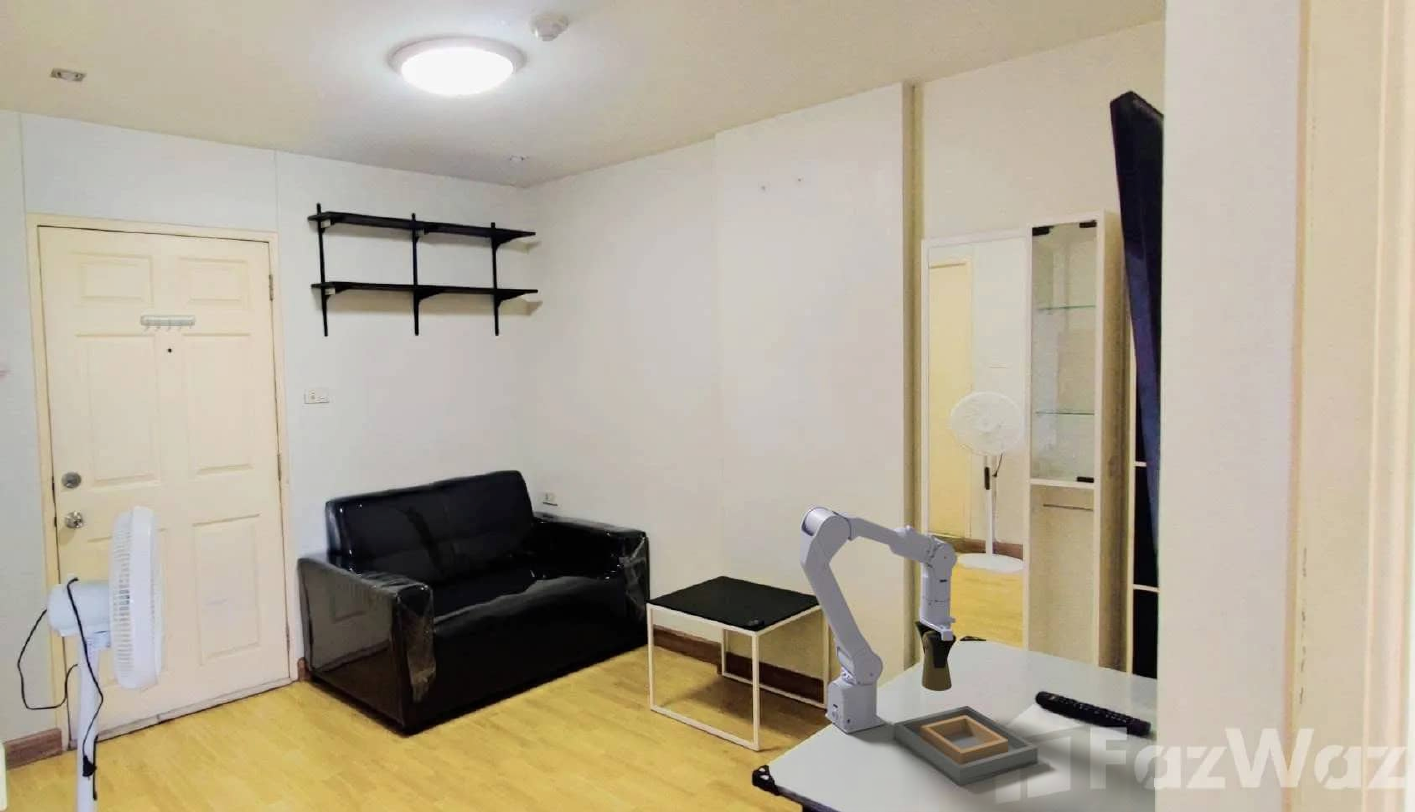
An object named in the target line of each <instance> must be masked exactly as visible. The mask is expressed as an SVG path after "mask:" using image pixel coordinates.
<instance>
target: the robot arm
mask: <svg viewBox="0 0 1415 812" xmlns="http://www.w3.org/2000/svg"><path fill="white" fill-rule="evenodd" d="M799 530H800V535H801V536H800V549H799V550H800V552H799V563H800V565H801V568H802V569H803V572H804V575H805V576H806V579H807V581H808V583H809V585H810V586H811V587H810V588H811V589H812V592H813V593H814V595H815V597H816V600H817V602H818V604H819V606H820V608H821V611H822V612H823V615H824V617H825V620H826V621H827V623H828V625H829V628H830V630H831V631H832V633H833V636H834V638H833V644H834V646H835V657H836V660H837V662H838V663H839V664H841V667H840V675H839V677H838V678H836V679H835V680H832V681H830V682H829V684H828V686H827V693H826V694H827V698H826V699H827V702H826V704H827V705H826V706H827V710H826V713H825V715H824V717H825V718H827V719H828V720H829V721H830V722H832V723H833V724H834V723H835V724H834V725H835V726H837V728H839V729H840V730H842V731H843V732H844V733H846V734H849V733H854V732H858V731H862V730H863V731H864V730H866V729H870V728H874V727H875V728H876V727H879V726H883V725H886V720H885V719H883V718H882V717H880V716H878V715H877V706H878V705H877V702H878V701H877V700H878V697H877V695H878V679H880V677H881V676H882V673H883V670H884V663H883V660H882V659H881V657H880V656H879V655H878V654H877V653H875V652H874V651H873V650H872V648H871V645H870V644H869V643H868V641H867V640H866V638H865V637H864V636H863V634H862V633H861V631H860V629H859V627H858V624H857V622H856V620H855V618H854V616H853V614H852V612H851V609H850V607H849V605H848V603H847V601H846V598H845V596H844V594H843V593H842V590H841V588H840V586H839V583H838V582H837V579H836V577H835V574H834V573H833V571H832V569H831V566H830V563H831V561H832V560H833V558H834V556H835V555H836V554H837V553H838V551H839V550H841V548H842V547H844V545H845V543H847V540H848V541H850V542H852V541H855V539H856V538H858V537H862V538H865V539H868V540H871V541H874V542H877V543H881V544H884V545H887V546H888V547H889V549H890V551H891V553H892V554H894V555H895V556H896V555H897V556H899V557H902V558H905V559H908V560H911V561H913V562H917V563H921V595H920V596H921V602H920V604H921V605H920V606H919V607H918V610H919V613H918V616H919V620H917V621H915V622H914V625H915V626H916V629H917V630H918V633H919V637H920V641H921V645H922V649H923V654H924V655H925V648H924V646H923V643H922V637H923V635H924V634H925V633H926V632H928V631H936V633H926V636H927V638H928V640H929V643H930V646H931V651H932V660H933V665H934V668H945V666H946V662H947V660H948V657H949V654H950V652H951V649H952V648H953V646H954V644H955V643H956V642H957V636H956V635H955V634H954V631H953V630H952V624H954V623H956V622H957V621H956V618H955V617H954V616H951V594H952V593H951V592H952V591H951V590H952V588H951V587H952V585H951V584H952V582H951V581H952V576H953V573H952V572H953V569H954V567H955V566H956V564H957V562H958V558H959V557H958V555H957V554H956V551H955V549H954V547H953V545H951V544H950V543H948V542H946V541H944V540H941V539H939V538H937V537H936V536H935V535H933V534H931V533H927V534H924V533H922V532H918V531H916V528H915V527H914V526H910V525H908V524H907V525H906V527H904V526H898V527H896V528H894V529H891V528H888V527H885V526H882V525H880V524H878V523H875V522H872V521H870V520H868V519H865V518H862V517H861V516H858V515H855V514H852V513H849V512H848V513H847V512H844V511H841V510H836V509H830V510H829V509H827V508H826V507H824V506H814V507H812V508H809V510H807V512H806V513H805V515H804V517H803V519H802V521H801V522H800V525H799Z"/></svg>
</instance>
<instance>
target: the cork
mask: <svg viewBox="0 0 1415 812" xmlns="http://www.w3.org/2000/svg"><path fill="white" fill-rule="evenodd" d="M926 633H936V631H928V632H926ZM926 633H925V634H924V635H923V637H922V641H921V644H922V643H923V646H924V648H925V655H924V657H923V658H924V659H923V668H922V677H921V686H923V688H925V689H926V690H929V691H934V692H944V691H945V692H946V691H948V690H950V689H951V688H952V686H953V685H952V678H951V672H950V667H949V661H948V659H947V662H946V666H945V668H934V665H933V660H932V651H931V646H930V643H929V640H928V638H927V636H926ZM923 646H922V647H923Z"/></svg>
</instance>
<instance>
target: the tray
mask: <svg viewBox="0 0 1415 812" xmlns="http://www.w3.org/2000/svg"><path fill="white" fill-rule="evenodd" d="M893 739H894V740H896V741H897V742H898V743H900V744H901V745H903V746H904V747H905V748H906V749H908V750H910V751H911V752H912V753H913V754H915V755H916V756H917V757H919V758H921V760H923V761H924V762H926V763H927V764H929V765H930V766H931V767H933V768H934V769H935V770H937V771H938V772H939V773H941V774H942V775H943V776H945V777H946V778H947V779H949V780H950V781H952V782H953V783H955V785H957V786H958V787H961V786H965V785H968V784H971V783H975V782H977V781H981V780H985V779H989V778H991V777H995V776H998V775H1001V774H1006V773H1009V772H1012V771H1016V770H1019V769H1022V768H1026V767H1030V766H1033V765H1036V764H1038V760H1039V759H1038V756H1039V755H1038V753H1039V747H1038V746H1036V745H1035V744H1033V743H1032V742H1030V741H1028V740H1027V739H1025V738H1023V737H1021V736H1020V735H1018V734H1017V733H1014V732H1013V731H1011V730H1009V729H1008V728H1006V727H1005V726H1003V725H1000V723H997V722H996V721H994V720H993V719H991V718H989V717H988V716H986V715H984V714H982V713H981V712H979V711H977V710H975V709H973V708H972V707H970V706H968V705H965V706H961V707H956V708H953V709H948V710H944V711H940V712H935V713H932V714H927V715H923V716H919V717H914V718H911V719H906V720H903V721H898V722H894V725H893Z"/></svg>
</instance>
